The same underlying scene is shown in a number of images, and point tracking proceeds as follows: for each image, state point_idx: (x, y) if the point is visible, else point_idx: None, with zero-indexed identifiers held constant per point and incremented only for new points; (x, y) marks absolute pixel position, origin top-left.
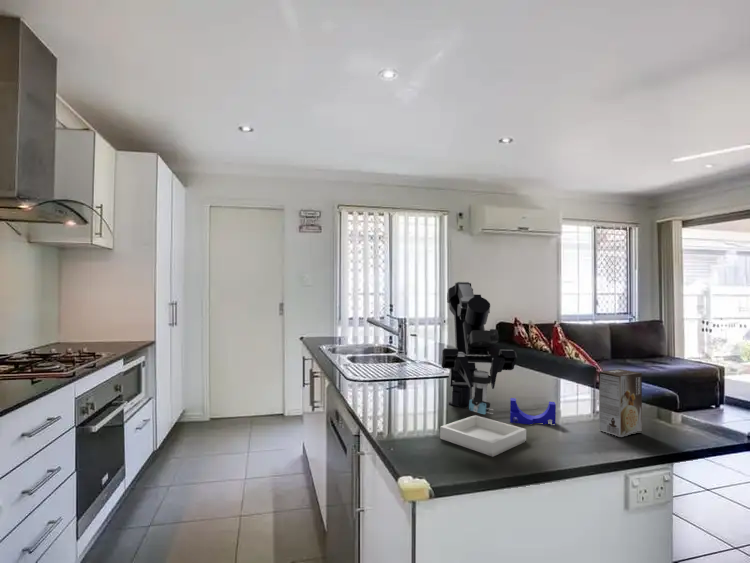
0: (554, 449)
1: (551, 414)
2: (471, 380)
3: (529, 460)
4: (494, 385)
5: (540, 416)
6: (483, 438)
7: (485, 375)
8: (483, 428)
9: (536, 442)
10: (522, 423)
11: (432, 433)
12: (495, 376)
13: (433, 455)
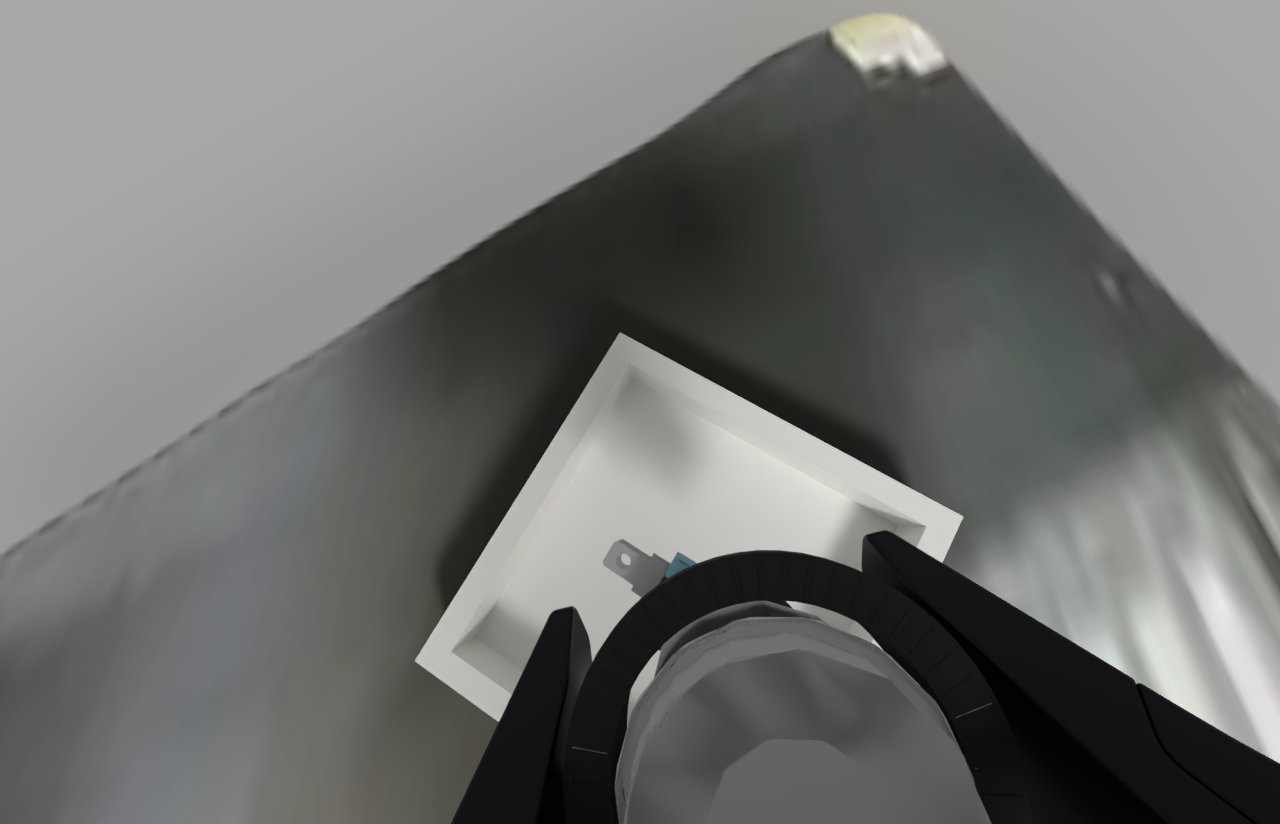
0: (325, 559)
1: None
2: (915, 592)
3: (468, 371)
4: (547, 621)
5: None
6: (673, 386)
7: (683, 677)
8: None
9: (396, 643)
10: None
11: None
12: (486, 778)
13: (891, 279)
